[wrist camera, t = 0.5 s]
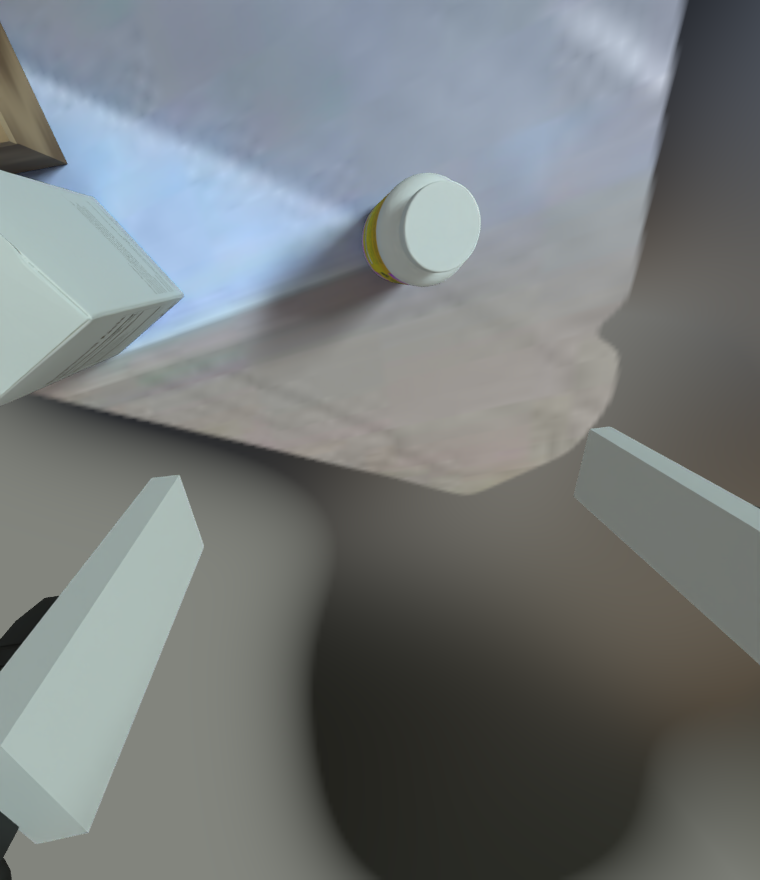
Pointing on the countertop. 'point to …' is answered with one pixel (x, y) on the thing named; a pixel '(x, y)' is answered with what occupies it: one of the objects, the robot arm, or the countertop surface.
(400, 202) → the supplement bottle
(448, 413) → the countertop surface
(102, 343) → the supplement box
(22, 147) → the walnut box
